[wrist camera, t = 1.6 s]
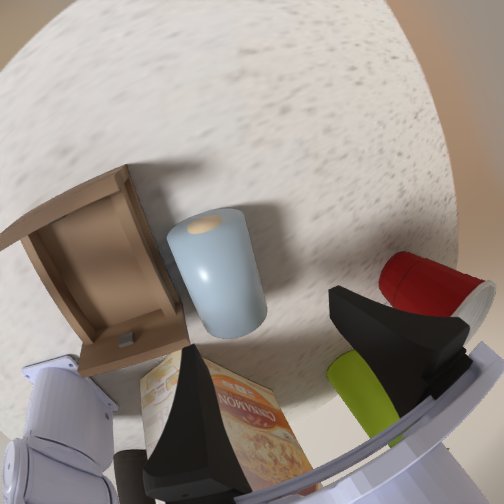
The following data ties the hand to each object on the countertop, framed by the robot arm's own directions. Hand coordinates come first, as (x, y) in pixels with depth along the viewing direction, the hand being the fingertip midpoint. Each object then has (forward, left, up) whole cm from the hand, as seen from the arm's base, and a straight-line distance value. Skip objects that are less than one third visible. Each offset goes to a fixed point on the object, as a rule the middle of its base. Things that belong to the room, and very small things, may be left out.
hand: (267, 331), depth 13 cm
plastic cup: (-10, -18, -9) cm, 23 cm away
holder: (+3, +9, -9) cm, 13 cm away
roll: (0, 0, -9) cm, 9 cm away
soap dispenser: (-22, -11, -9) cm, 26 cm away
